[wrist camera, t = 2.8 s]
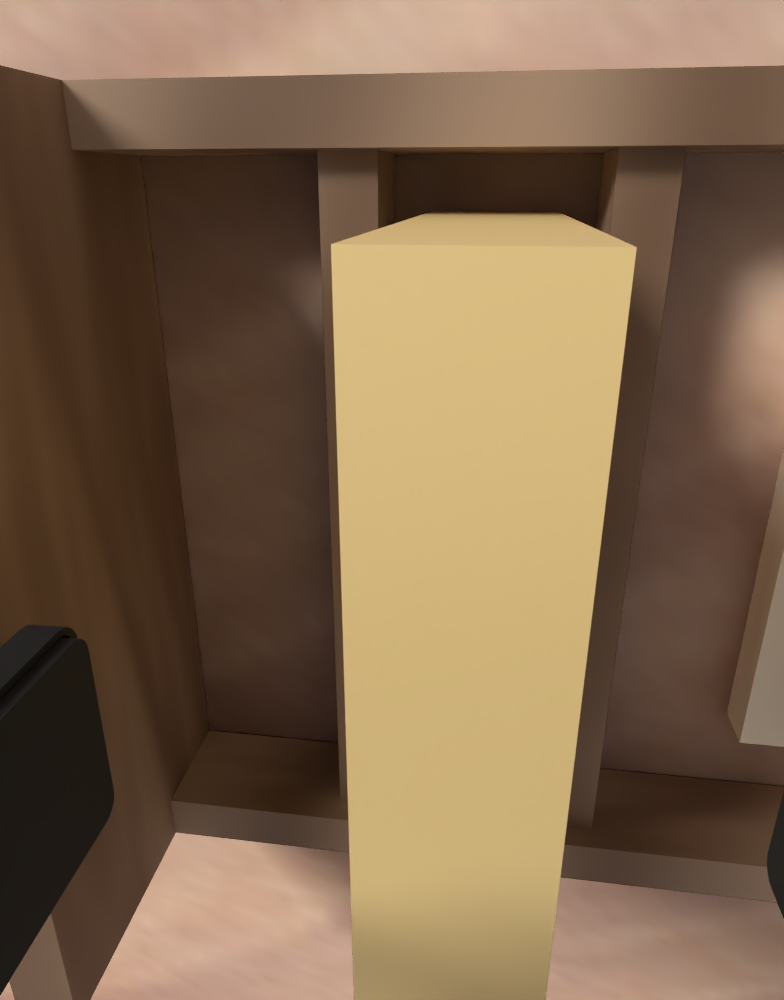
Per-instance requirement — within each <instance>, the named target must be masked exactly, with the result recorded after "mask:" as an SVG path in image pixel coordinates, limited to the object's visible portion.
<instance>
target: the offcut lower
mask: <svg viewBox="0 0 784 1000" xmlns="http://www.w3.org/2000/svg"><path fill="white" fill-rule="evenodd" d="M727 714H728V717H729V719H730V722H731V724H732V726H733V729H734V731H735V733H736V736H737V738H738V740H739V743H747V744H758V745H769V746H781V747H784V449H783V454H782V458H781V463H780V468H779V472H778V477H777V482H776V486H775V491H774V496H773V500H772V505H771V510H770V514H769V519H768V524H767V528H766V533H765V538H764V542H763V547H762V552H761V556H760V561H759V566H758V570H757V575H756V580H755V584H754V589H753V594H752V598H751V603H750V608H749V612H748V617H747V622H746V626H745V631H744V636H743V640H742V645H741V650H740V654H739V659H738V664H737V668H736V673H735V678H734V682H733V687H732V692H731V696H730V701H729V705H728V710H727Z"/></svg>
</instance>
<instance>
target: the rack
mask: <svg viewBox="0 0 784 1000" xmlns="http://www.w3.org/2000/svg"><path fill="white" fill-rule="evenodd" d="M686 152H784V66H744V67H695V68H645V69H596V70H546V71H497V72H447V73H397V74H348V75H298V76H249V77H199V78H150V79H100V80H58V79H54V78H50V77H46V76H42V75H38V74H34V73H29V72H25V71H21V70H17V69H13V68H9V67H5V66H0V647H1V646H2V645H3V644H5V643H6V642H7V641H8V640H9V639H10V638H11V637H12V636H13V635H14V634H15V633H17V632H18V631H19V630H20V629H21V628H23V627H24V626H26V625H45V626H59V627H69V628H71V629H73V630H74V632H75V633H76V634H77V637H78V639H83V640H84V641H85V642H86V643H87V646H88V649H89V654H90V660H91V665H92V671H93V676H94V682H95V688H96V693H97V699H98V704H99V710H100V716H101V721H102V727H103V732H104V738H105V743H106V749H107V755H108V760H109V766H110V771H111V777H112V782H113V788H114V803H113V808H112V811H111V814H110V817H109V819H108V821H107V822H106V824H105V826H104V827H103V829H102V831H101V832H100V834H99V836H98V837H97V839H96V840H95V842H94V844H93V845H92V847H91V849H90V850H89V852H88V853H87V855H86V857H85V858H84V860H83V862H82V863H81V865H80V866H79V868H78V870H77V871H76V873H75V875H74V876H73V878H72V879H71V881H70V883H69V884H68V886H67V888H66V889H65V891H64V892H63V894H62V896H61V897H60V899H59V901H58V902H57V904H56V906H55V907H54V909H53V910H52V912H51V914H50V915H49V917H48V919H47V920H46V922H45V923H44V925H43V927H42V928H41V930H40V932H39V933H38V935H37V936H36V938H35V940H34V941H33V943H32V945H31V946H30V948H29V949H28V951H27V953H26V954H25V956H24V958H23V959H22V961H21V962H20V964H19V966H18V967H17V969H16V971H15V972H14V974H13V975H12V977H11V979H10V980H9V981H10V985H11V988H12V991H13V995H14V998H15V1000H90V999H91V997H92V995H93V993H94V991H95V989H96V987H97V985H98V983H99V981H100V979H101V977H102V976H103V974H104V972H105V970H106V968H107V966H108V964H109V962H110V960H111V958H112V956H113V954H114V952H115V950H116V948H117V946H118V944H119V942H120V940H121V938H122V936H123V934H124V932H125V931H126V929H127V927H128V925H129V923H130V921H131V919H132V917H133V915H134V913H135V911H136V909H137V907H138V905H139V903H140V901H141V899H142V897H143V895H144V893H145V891H146V889H147V887H148V886H149V884H150V882H151V880H152V878H153V876H154V874H155V872H156V870H157V868H158V866H159V864H160V862H161V860H162V858H163V856H164V854H165V852H166V850H167V848H168V846H169V844H170V842H171V841H172V839H173V837H174V835H175V833H176V832H178V833H186V834H195V835H203V836H212V837H220V838H229V839H238V840H246V841H255V842H263V843H272V844H280V845H289V846H297V847H306V848H314V849H323V850H332V851H340V852H349V822H348V789H347V756H346V723H345V691H344V658H343V625H342V592H341V559H340V526H339V493H338V460H337V428H336V395H335V362H334V329H333V296H332V263H331V244H333V243H336V242H339V241H342V240H345V239H348V238H352V237H355V236H358V235H361V234H364V233H367V232H370V231H373V230H376V229H379V228H382V227H385V226H389V225H392V224H394V154H496V153H604V155H603V165H602V175H601V185H600V195H599V205H598V215H597V225H596V229H597V230H600V231H602V232H604V233H606V234H609V235H611V236H613V237H615V238H618V239H620V240H622V241H624V242H626V243H629V244H631V245H633V246H635V247H637V250H636V258H635V266H634V274H633V283H632V291H631V299H630V307H629V316H628V324H627V332H626V340H625V349H624V357H623V365H622V373H621V382H620V390H619V398H618V406H617V415H616V423H615V431H614V439H613V448H612V456H611V464H610V472H609V481H608V489H607V497H606V505H605V514H604V522H603V530H602V538H601V547H600V555H599V563H598V571H597V580H596V588H595V596H594V604H593V613H592V621H591V629H590V637H589V646H588V654H587V662H586V670H585V679H584V687H583V695H582V703H581V712H580V720H579V728H578V736H577V744H576V753H575V761H574V769H573V777H572V786H571V794H570V802H569V810H568V819H567V827H566V835H565V843H564V852H563V860H562V868H561V876H560V877H563V878H571V879H580V880H588V881H597V882H605V883H614V884H622V885H631V886H639V887H648V888H657V889H665V890H674V891H682V892H691V893H699V894H708V895H716V896H725V897H734V898H742V899H751V900H759V901H768V902H776V903H777V901H776V898H775V896H774V893H773V891H772V888H771V885H770V882H769V878H768V872H767V855H768V850H769V846H770V842H771V838H772V834H773V830H774V827H775V823H776V819H777V815H778V811H779V807H780V803H781V799H782V795H783V791H784V787H782V786H771V785H761V784H751V783H741V782H730V781H720V780H710V779H700V778H690V777H679V776H669V775H659V774H649V773H638V772H628V771H618V770H608V769H600V765H601V758H602V750H603V743H604V736H605V729H606V722H607V714H608V707H609V700H610V693H611V686H612V678H613V671H614V664H615V657H616V650H617V642H618V635H619V628H620V621H621V614H622V606H623V599H624V592H625V585H626V578H627V571H628V563H629V556H630V549H631V542H632V535H633V527H634V520H635V513H636V506H637V499H638V491H639V484H640V477H641V470H642V463H643V455H644V448H645V441H646V434H647V427H648V419H649V412H650V405H651V398H652V391H653V384H654V376H655V369H656V362H657V355H658V348H659V340H660V333H661V326H662V319H663V312H664V304H665V297H666V290H667V283H668V276H669V268H670V261H671V254H672V247H673V240H674V232H675V225H676V218H677V211H678V204H679V196H680V189H681V182H682V175H683V168H684V161H685V153H686ZM168 155H317V160H318V188H319V216H320V244H321V272H322V300H323V328H324V356H325V384H326V412H327V441H328V469H329V497H330V525H331V553H332V581H333V609H334V637H335V665H336V693H337V721H338V743H332V742H322V741H311V740H301V739H291V738H281V737H270V736H260V735H250V734H240V733H230V732H219V731H209V724H208V716H207V708H206V699H205V691H204V682H203V674H202V666H201V657H200V649H199V641H198V632H197V624H196V616H195V607H194V599H193V591H192V582H191V574H190V565H189V557H188V549H187V540H186V532H185V524H184V515H183V507H182V499H181V490H180V482H179V474H178V465H177V457H176V449H175V440H174V432H173V423H172V415H171V407H170V398H169V390H168V382H167V373H166V365H165V357H164V348H163V340H162V332H161V323H160V315H159V307H158V298H157V290H156V281H155V273H154V265H153V256H152V248H151V240H150V231H149V223H148V215H147V206H146V198H145V190H144V181H143V173H142V164H141V156H168Z"/></svg>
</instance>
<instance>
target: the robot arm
mask: <svg viewBox="0 0 784 1000" xmlns="http://www.w3.org/2000/svg"><path fill="white" fill-rule="evenodd" d="M113 803H114V788H113V782H112V777H111V771H110V766H109V760H108V755H107V749H106V743H105V738H104V732H103V727H102V721H101V716H100V710H99V704H98V699H97V693H96V688H95V682H94V676H93V671H92V665H91V660H90V654H89V649H88V646H87V643H86V642H85V641H84V640H83V639H78V637H77V634H76V633H75V632H74V630H73V629H71V628H69V627H59V626H45V625H26V626H24V627H23V628H21V629H20V630H19V631H18V632H17V633H15V634H14V635H13V636H12V637H11V638H10V639H9V640H8V641H7V642H6V643H5V644H3V645H2V646H1V647H0V995H1V993H2V992H3V990H4V989H5V987H6V985H7V984H8V982H9V980H10V979H11V977H12V975H13V974H14V972H15V971H16V969H17V967H18V966H19V964H20V962H21V961H22V959H23V958H24V956H25V954H26V953H27V951H28V949H29V948H30V946H31V945H32V943H33V941H34V940H35V938H36V936H37V935H38V933H39V932H40V930H41V928H42V927H43V925H44V923H45V922H46V920H47V919H48V917H49V915H50V914H51V912H52V910H53V909H54V907H55V906H56V904H57V902H58V901H59V899H60V897H61V896H62V894H63V892H64V891H65V889H66V888H67V886H68V884H69V883H70V881H71V879H72V878H73V876H74V875H75V873H76V871H77V870H78V868H79V866H80V865H81V863H82V862H83V860H84V858H85V857H86V855H87V853H88V852H89V850H90V849H91V847H92V845H93V844H94V842H95V840H96V839H97V837H98V836H99V834H100V832H101V831H102V829H103V827H104V826H105V824H106V822H107V821H108V819H109V817H110V814H111V811H112V808H113ZM767 872H768V878H769V882H770V885H771V888H772V891H773V893H774V896H775V898H776V901H777V903H778V906H779V908H780V911H781V913H782V915H783V918H784V791H783V795H782V799H781V803H780V807H779V811H778V815H777V819H776V823H775V827H774V830H773V834H772V838H771V842H770V846H769V850H768V855H767Z"/></svg>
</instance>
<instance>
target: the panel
mask: <svg viewBox="0 0 784 1000" xmlns="http://www.w3.org/2000/svg"><path fill="white" fill-rule="evenodd" d="M636 250H637V247H635V246H633V245H631V244H629V243H626V242H624V241H622V240H620V239H618V238H615V237H613V236H611V235H609V234H606V233H604V232H602V231H600V230H597V229H595V228H593V227H591V226H589V225H586V224H584V223H582V222H580V221H577V220H575V219H573V218H571V217H569V216H566V215H564V214H562V213H560V212H429V213H425V214H422V215H419V216H416V217H413V218H410V219H407V220H404V221H401V222H398V223H395V224H392V225H389V226H385V227H382V228H379V229H376V230H373V231H370V232H367V233H364V234H361V235H358V236H355V237H352V238H348V239H345V240H342V241H339V242H336V243H333V244H331V263H332V296H333V329H334V362H335V395H336V428H337V460H338V493H339V526H340V559H341V592H342V625H343V658H344V691H345V723H346V756H347V789H348V822H349V855H350V888H351V921H352V954H353V986H354V1000H546V992H547V984H548V975H549V967H550V959H551V951H552V942H553V934H554V926H555V918H556V909H557V901H558V893H559V885H560V876H561V868H562V860H563V852H564V843H565V835H566V827H567V819H568V810H569V802H570V794H571V786H572V777H573V769H574V761H575V753H576V744H577V736H578V728H579V720H580V712H581V703H582V695H583V687H584V679H585V670H586V662H587V654H588V646H589V637H590V629H591V621H592V613H593V604H594V596H595V588H596V580H597V571H598V563H599V555H600V547H601V538H602V530H603V522H604V514H605V505H606V497H607V489H608V481H609V472H610V464H611V456H612V448H613V439H614V431H615V423H616V415H617V406H618V398H619V390H620V382H621V373H622V365H623V357H624V349H625V340H626V332H627V324H628V316H629V307H630V299H631V291H632V283H633V274H634V266H635V258H636Z"/></svg>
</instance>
